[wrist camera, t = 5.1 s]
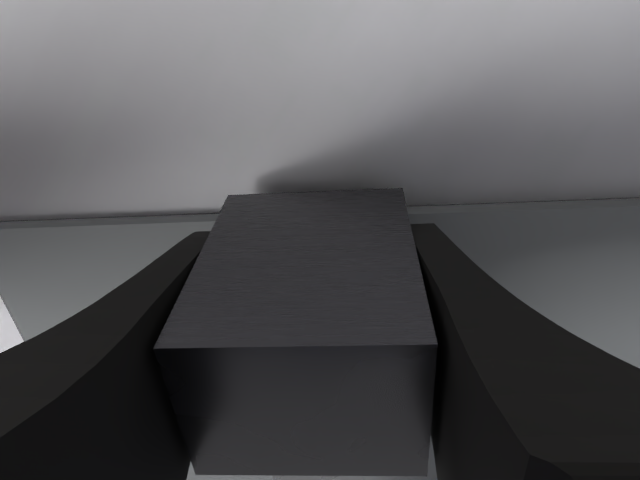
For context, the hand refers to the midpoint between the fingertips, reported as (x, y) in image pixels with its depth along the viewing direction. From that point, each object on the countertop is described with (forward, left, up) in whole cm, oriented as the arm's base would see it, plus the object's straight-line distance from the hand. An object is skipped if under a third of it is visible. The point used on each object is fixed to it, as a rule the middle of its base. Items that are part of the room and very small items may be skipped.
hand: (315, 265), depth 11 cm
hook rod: (0, +9, -1) cm, 9 cm away
